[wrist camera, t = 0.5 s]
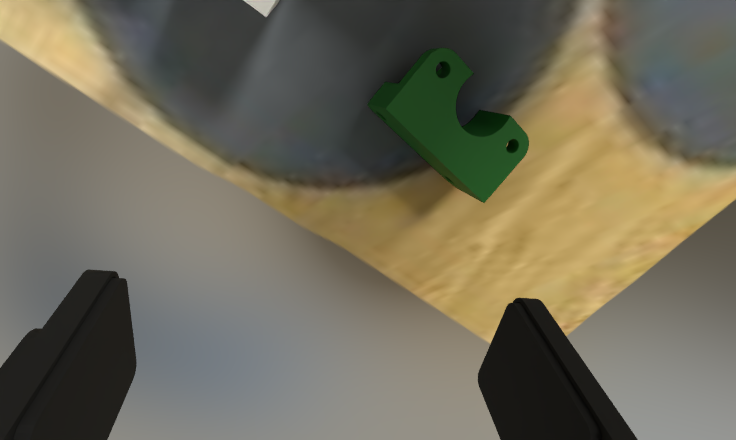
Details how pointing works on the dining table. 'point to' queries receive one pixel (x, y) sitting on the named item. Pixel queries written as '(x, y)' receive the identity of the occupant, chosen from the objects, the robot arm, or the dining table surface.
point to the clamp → (450, 125)
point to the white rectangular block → (263, 5)
